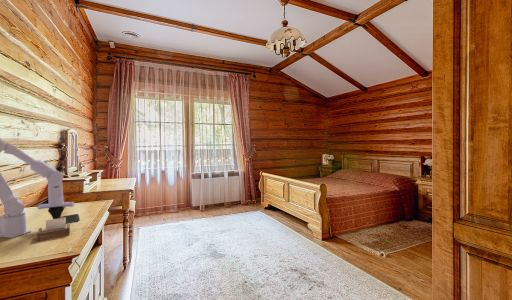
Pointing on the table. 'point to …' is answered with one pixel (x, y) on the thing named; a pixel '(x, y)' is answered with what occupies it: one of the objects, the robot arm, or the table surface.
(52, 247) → the table surface
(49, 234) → the roll holder
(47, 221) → the paper roll
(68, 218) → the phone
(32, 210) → the table surface
